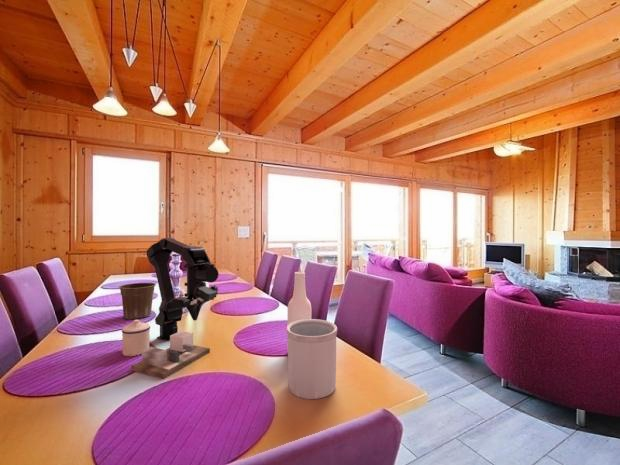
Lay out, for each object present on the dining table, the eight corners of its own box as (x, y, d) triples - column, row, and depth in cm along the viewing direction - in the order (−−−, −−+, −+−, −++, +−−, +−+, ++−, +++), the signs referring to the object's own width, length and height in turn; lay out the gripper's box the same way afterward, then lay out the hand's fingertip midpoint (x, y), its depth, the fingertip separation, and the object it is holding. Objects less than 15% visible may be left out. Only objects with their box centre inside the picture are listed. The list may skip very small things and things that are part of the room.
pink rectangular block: (170, 349, 105) (170, 335, 105) (180, 344, 110) (180, 331, 110) (191, 353, 102) (191, 339, 102) (201, 348, 106) (201, 334, 106)
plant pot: (135, 311, 160) (135, 281, 159) (162, 312, 157) (162, 282, 157) (111, 320, 144) (111, 287, 143) (140, 322, 141) (140, 288, 141)
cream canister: (155, 349, 110) (155, 318, 110) (132, 358, 102) (132, 325, 101) (134, 343, 115) (134, 314, 115) (111, 352, 107) (111, 320, 106)
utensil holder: (296, 406, 75) (297, 339, 75) (279, 379, 89) (280, 322, 89) (346, 394, 81) (346, 331, 81) (322, 370, 95) (323, 316, 95)
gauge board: (131, 370, 93) (131, 353, 93) (180, 346, 113) (180, 332, 112) (163, 378, 88) (164, 360, 88) (209, 352, 108) (209, 337, 107)
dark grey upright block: (169, 360, 96) (169, 351, 96) (172, 359, 98) (172, 350, 98) (175, 362, 95) (175, 353, 95) (179, 360, 96) (179, 351, 96)
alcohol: (299, 346, 113) (300, 270, 113) (316, 353, 107) (316, 272, 107) (282, 353, 107) (282, 272, 107) (298, 361, 101) (299, 275, 101)
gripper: (193, 285, 101) (193, 330, 101) (227, 277, 118) (227, 315, 118) (169, 283, 105) (169, 326, 105) (205, 275, 122) (205, 312, 122)
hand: (194, 320), depth 112 cm, fingers closed
